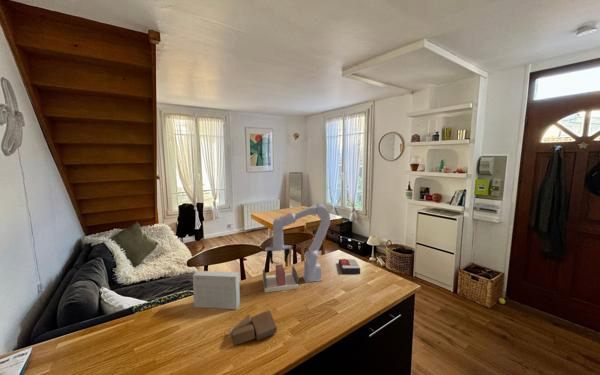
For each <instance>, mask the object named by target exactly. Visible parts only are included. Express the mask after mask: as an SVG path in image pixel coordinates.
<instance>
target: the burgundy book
mask: <svg viewBox="0 0 600 375" xmlns="http://www.w3.org/2000/svg"><path fill="white" fill-rule="evenodd" d="M274 269H275V275H276V280H277V284H278V286H282V285H285V274H286V271H285V269H284V266H283V264H277V265H275V267H274Z"/></svg>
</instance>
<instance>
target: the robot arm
mask: <svg viewBox="0 0 600 375" xmlns="http://www.w3.org/2000/svg"><path fill="white" fill-rule="evenodd" d="M309 215H311V216H315V217H316V216H318V218H319V219H320V223H319V226H318V228H317V230H316V233H315V236H314V238H313V240H312V243H311V245H310V246H309V247H308V249H307V250H306V251H305V252H304V259H305V261H304V263H303V264H304V268H303V269H304V270H303V271H304V273H303V274H302V278H303V281H304V282H305V283H312V282H313V283H314V282H320V281H322V267H321V266H322V265H321V263H320V262H318V257H319V251H320V248H321V245H322V244H323V241H324V239H325V236H326V235H327V232H328V230H329V229H330V225H331V217H330V211H329V210H328V208H327V207H326V206H325V204H323V203H320V202H319V203H316V204H313V205H311V206H309V207H307V208H305V209H302V210H300V211H298V212H296V213H293V212H288V213H287V214H285V215H283V216H281V215H280V216H279V217H276V218H274V220H273V222H272V227H273V228H272V230H273V232H272V235H273V236H272V237H273V238H272V241H273V242H272V243H273V245H272V246H268V247H265V252H266V253H267V254H268V256H269V259H270V263H271V264H274V260H273V255H274V253H273V252H275V251H276V252H277V251H280V252H281V251H284V258H283V259H284V261H283V262H284V263H287V260H288V257H289V255H290V253H291V251H292V245H287V244H286V245H285V244H284V243H285V242H284V227H287V226H290V225H292V224H295V223H296V222H297V220H299V219H302V218H305V217H307V216H309Z"/></svg>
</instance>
